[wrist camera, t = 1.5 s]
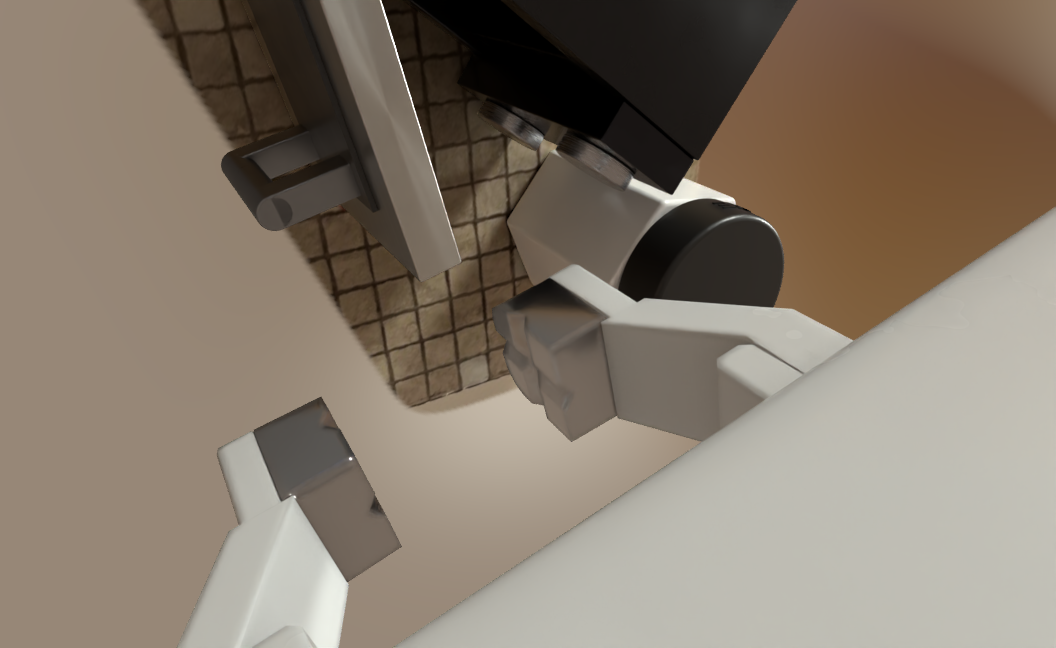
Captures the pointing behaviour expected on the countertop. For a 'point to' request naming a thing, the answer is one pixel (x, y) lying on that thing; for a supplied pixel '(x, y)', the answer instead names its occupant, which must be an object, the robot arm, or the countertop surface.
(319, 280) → the countertop surface
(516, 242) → the jar
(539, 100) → the oven
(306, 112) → the oven door
